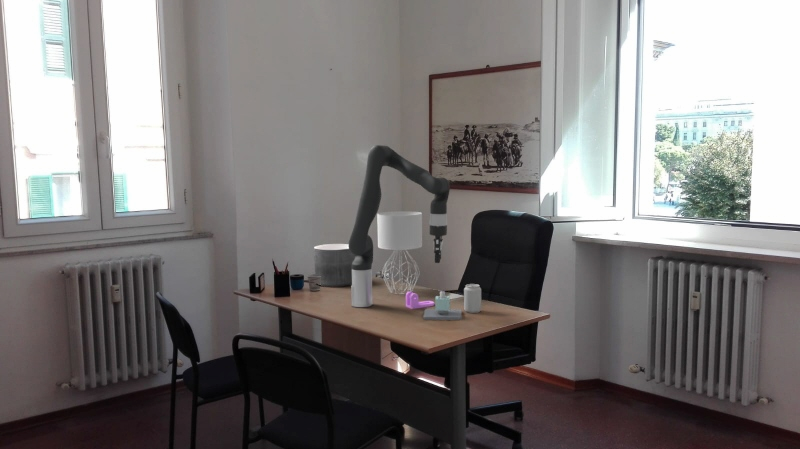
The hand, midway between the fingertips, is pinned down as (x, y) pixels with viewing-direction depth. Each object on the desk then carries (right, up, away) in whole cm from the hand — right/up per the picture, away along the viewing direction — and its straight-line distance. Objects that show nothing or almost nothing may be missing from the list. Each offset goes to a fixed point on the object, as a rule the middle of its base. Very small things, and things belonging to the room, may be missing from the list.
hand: (437, 261), depth 284 cm
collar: (+2, -21, -1) cm, 21 cm away
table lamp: (-16, -19, +49) cm, 55 cm away
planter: (-52, -16, +74) cm, 92 cm away
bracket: (-7, -22, +18) cm, 29 cm away
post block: (+2, -24, 0) cm, 24 cm away
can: (+16, -23, +6) cm, 28 cm away
